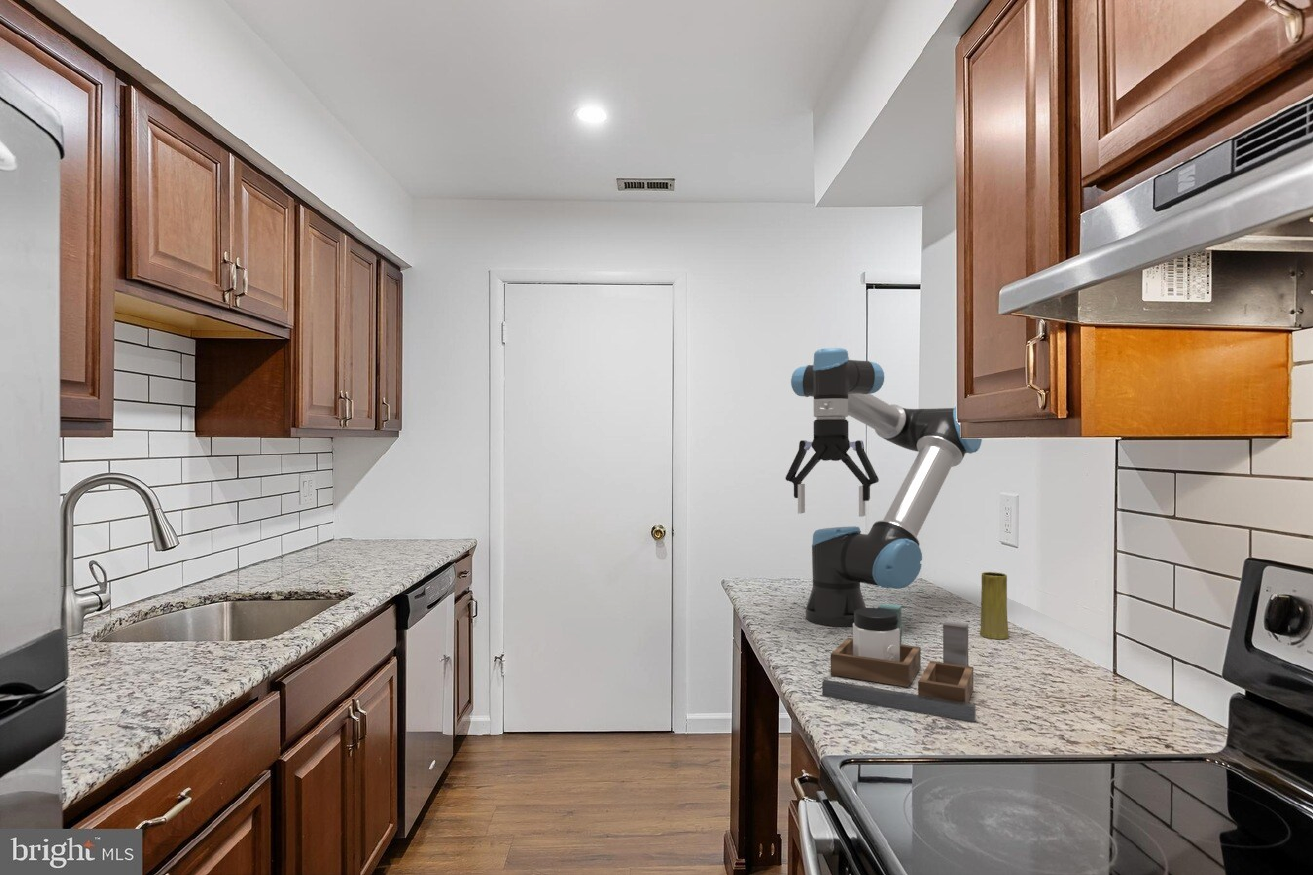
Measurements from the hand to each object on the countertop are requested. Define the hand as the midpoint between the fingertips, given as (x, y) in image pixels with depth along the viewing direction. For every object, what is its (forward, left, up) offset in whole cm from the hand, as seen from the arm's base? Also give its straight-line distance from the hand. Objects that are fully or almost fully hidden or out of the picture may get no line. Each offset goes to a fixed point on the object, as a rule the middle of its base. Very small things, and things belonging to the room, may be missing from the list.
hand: (831, 514), depth 162 cm
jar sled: (+11, +13, -29) cm, 33 cm away
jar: (+16, +13, -29) cm, 36 cm away
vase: (-24, +31, -29) cm, 49 cm away
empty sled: (+19, +27, -28) cm, 44 cm away
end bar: (+32, +20, -29) cm, 47 cm away
